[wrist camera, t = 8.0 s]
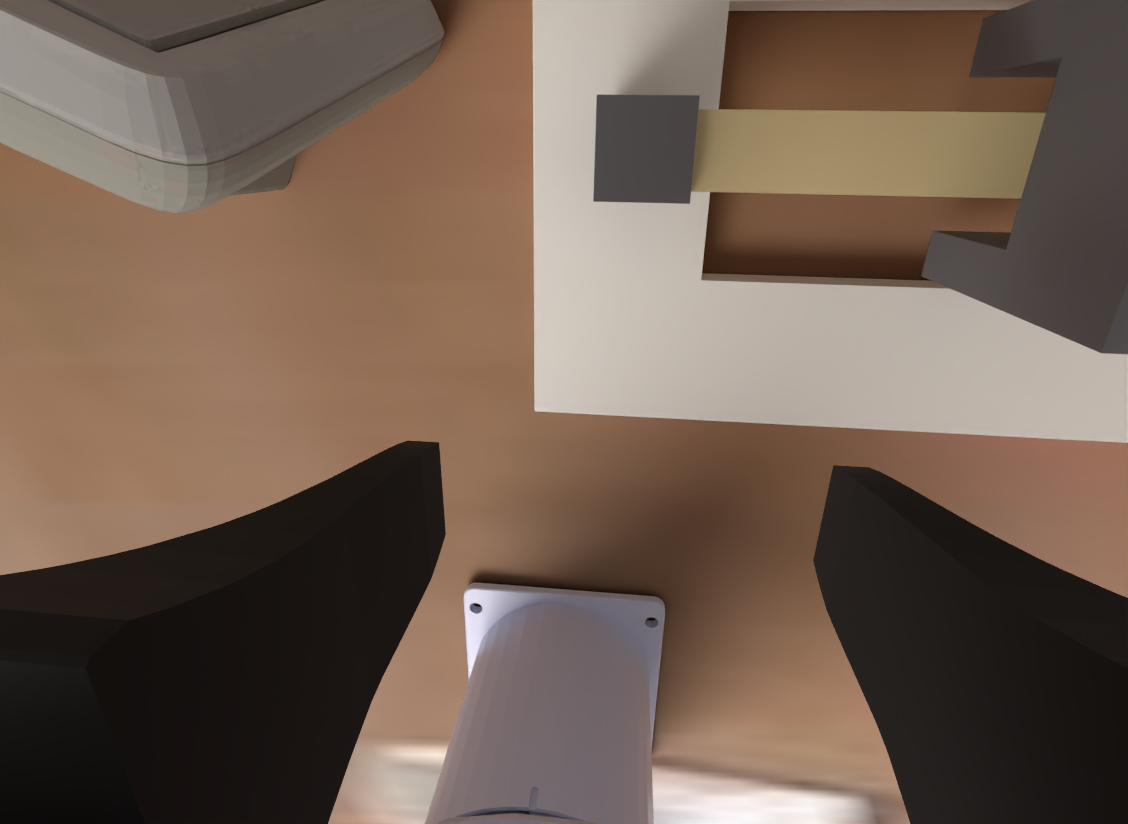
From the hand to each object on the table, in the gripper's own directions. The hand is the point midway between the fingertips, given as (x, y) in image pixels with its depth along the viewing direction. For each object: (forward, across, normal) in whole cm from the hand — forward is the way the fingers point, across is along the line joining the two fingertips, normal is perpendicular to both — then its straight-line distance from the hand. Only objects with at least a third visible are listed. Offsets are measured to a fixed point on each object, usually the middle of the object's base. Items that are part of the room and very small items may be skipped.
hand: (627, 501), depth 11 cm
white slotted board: (+10, -7, -5) cm, 13 cm away
